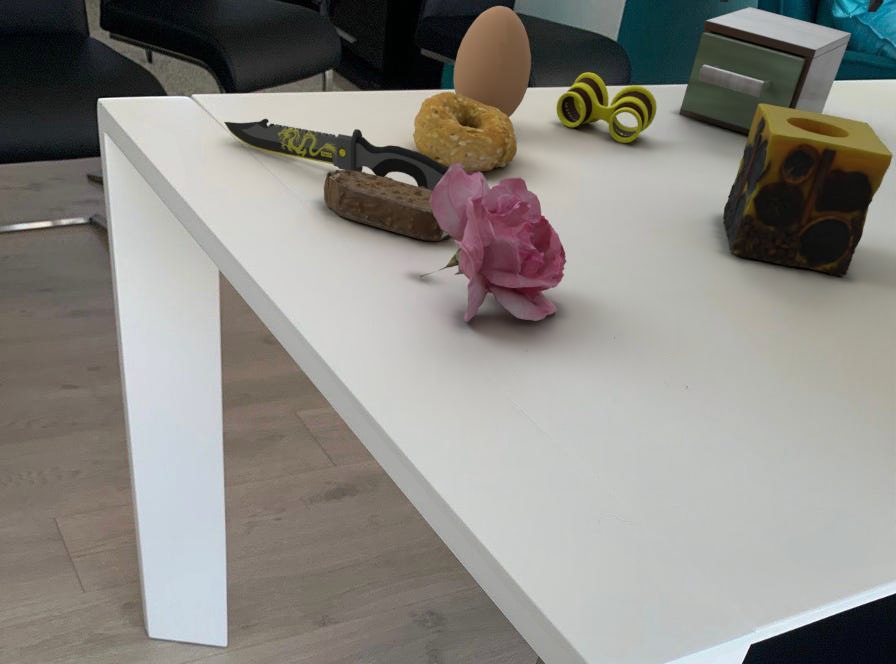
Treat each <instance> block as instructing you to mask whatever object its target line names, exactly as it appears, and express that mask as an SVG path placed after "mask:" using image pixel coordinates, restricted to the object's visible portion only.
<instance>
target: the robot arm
mask: <svg viewBox="0 0 896 664" xmlns="http://www.w3.org/2000/svg"><path fill="white" fill-rule="evenodd" d="M884 1H885V0H869V3H868V6H867V11H866V12H867V13H877V12H878V10H879V9H880V8H881V6H882V5H883V4H884ZM719 2H720V3H721V2H722V3H729V0H719Z"/></svg>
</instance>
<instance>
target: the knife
mask: <svg viewBox="0 0 896 664" xmlns="http://www.w3.org/2000/svg"><path fill="white" fill-rule="evenodd" d="M269 122H270V121H269V119H268V118H263V119H261V120H259V121H249V122H232V121H224V125H225V126H226V128H227V130H228V131H229V132H230V134H232V135H233V136H234V137H235V138H237V139H238V140H239V141H241V142H242V143H244V144H246V145H248V146H250V147H251V148H254V149H257V150H259V151H264V152H269V153H273V154H277V155H283V156H288V157H293V158H299V159H303V160H307V161H313V162H314V161H315V162H319V163H323V164H324V163H325V164H329V165H333V167H337V168H338V170H350V171H357V172H363V168H365V167H366V168H367V169H369V170H370V171H372V173H373V175H377V176H381V177H387V175H388V174H391V173H402V174H405V175H408V176H410V177H411V178H412V179H414V181H415V183H416V184H417V185H416V186H418V187H421V186H424V187H425V188H426V189H429V190H432V191H433V190H434V188H435V186H436V185H437V184H438V182H439V181H440V180H441V179H442V177H443V176H444V175H445V173H446V172H447V170H448V169H449V168H448V167H446V166H444V165H442V164H440V163H438V162H436V161H435V160H433V159H431V158H429V157H428V156H426V155H423V154H421V153H420V152H418V151H416V150H412V149H410V148H409V149H408V148H405V147H402V146H400V145H391V144H390V145H384V146H376V145H374V144H372V143H370V141H369V140H367V139H366V138H365V137H364V136H363V134H362V131H361V130H360V129H359V128H355V129H354V130H353V132H352V135H347V134H341V133H338V135H336V134H333V133H327V132H321V131H318V130H317V131H315V130H311V129H306V128H300V127H295V126H289V125H282V124H277V123H276V124H275V123H269ZM268 123H269V125H268Z"/></svg>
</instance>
